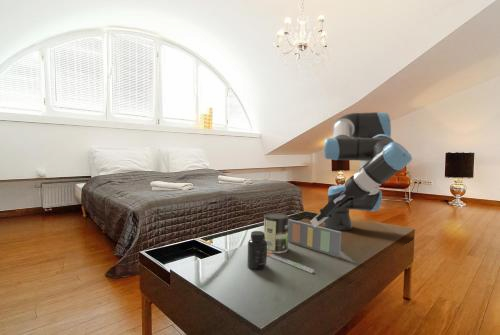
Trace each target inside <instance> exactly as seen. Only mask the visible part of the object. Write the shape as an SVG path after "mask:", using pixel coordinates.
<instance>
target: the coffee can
mask: <svg viewBox="0 0 500 335" xmlns="http://www.w3.org/2000/svg"><path fill="white" fill-rule="evenodd" d="M263 217H264V218H263V219H264V220H263V223H264V224H263V232H264V233H265V239H264V240H265V241H266V242H267V252H270V253H273V254H284V253H286V252H288V250H289V249H288V246H289V243H288V220H289V219H290V216H289V214H285V213H280V212H270V213H268V212H267V213H265V214H264V215H263Z"/></svg>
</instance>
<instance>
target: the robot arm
mask: <svg viewBox="0 0 500 335" xmlns="http://www.w3.org/2000/svg"><path fill="white" fill-rule="evenodd" d="M331 132H332V137H327V138H325V140H324V148H323V150H324V151H323V153H324V154H323V157H324V158H325V159H326V160H331V161H332V160H333V161H360V162H359V169H358V170H357V171H356V172H355V173H353V175H351V176H350V177H349V178H348V179H346V181H344V184H339V185H336V184H335V185H331V186H329V188H328V190H327V191H328V192H327V204H326V205H325V206H324V207H323V208H320V209H319V213H318V214H316V216H314V217H313V218H312V219H310V221H309V222H310V224H311V225H313V226H314V227H317V226H319V225H320V224H322V223H323V227H324V228H327V229H332V230H336V231H350V230H352V229H353V222H352V219H351V216H350V210H356V211H366V212H377V211H378V210H380V207H381V203H382V199H383V191H382V190H381V189H380V188H381V187H380V186H382V184H384V183H385V182H387V181H388V180H389V179H391V178H392V177H394V176H395V175H396V174H397V173H399V172H401V171H402V170H403V169H404V168H405V167H406V166H407V165H409V164H410V162H412V160H413V157H412V155H411V153H409V151H408V150H407V148H405V147H404V146H403V145H401V144H400V143H399V142H397V141H394V139H393V138H392V126H391V117H390V115H389V113H387V112H380V111H377V112H351V113H348V114H345V115H342V116H340V117H338V118H337V119H336V120H335V121H334V122H333V124H332V127H331Z"/></svg>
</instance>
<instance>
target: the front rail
mask: <svg viewBox="0 0 500 335" xmlns="http://www.w3.org/2000/svg"><path fill="white" fill-rule="evenodd" d="M267 257H270V258H273V259H275V260H277V261H280V262H283V263H284V264H287V265H289V266H292V267H295V268H296V269H297V268H298V269H300V270H303V271H304V272H307V273H309V274H314V273H315V269H314V268H311V267H308V266H306V265H304V264H301V263H298V262H295V261H293V260H290V259H288V258H286V257H282V256H280V255H279V254H276V253H270V252H267Z"/></svg>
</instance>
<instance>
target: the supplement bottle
mask: <svg viewBox="0 0 500 335" xmlns="http://www.w3.org/2000/svg"><path fill="white" fill-rule="evenodd" d="M264 239H265V233H264V231H262V230H261V231H260V230H253V231H251V233H250V239H249V240H248V241H247V258H246V259H247V263H246V264H247V267H248V268H249V269H250V270H253V271H261V270H265V269H266V268H267V264H268V259H267V258H268V256H267V242H266V241H265V240H264Z"/></svg>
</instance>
